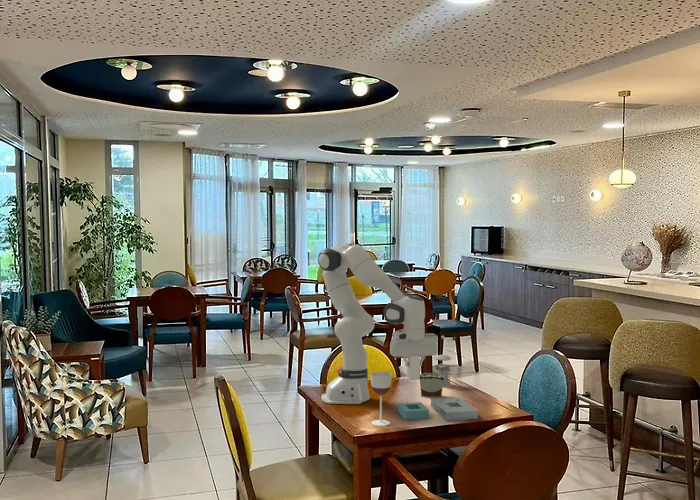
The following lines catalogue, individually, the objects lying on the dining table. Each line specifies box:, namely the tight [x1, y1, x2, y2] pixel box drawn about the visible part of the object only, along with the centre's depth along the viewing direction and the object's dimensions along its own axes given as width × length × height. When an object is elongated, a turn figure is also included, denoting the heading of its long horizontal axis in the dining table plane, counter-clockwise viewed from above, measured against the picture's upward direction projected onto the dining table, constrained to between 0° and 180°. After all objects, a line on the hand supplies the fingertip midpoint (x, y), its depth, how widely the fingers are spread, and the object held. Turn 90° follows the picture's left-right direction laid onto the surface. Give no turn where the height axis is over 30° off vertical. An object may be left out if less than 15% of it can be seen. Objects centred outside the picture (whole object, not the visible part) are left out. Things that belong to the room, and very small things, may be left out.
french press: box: [434, 335, 453, 389], centre depth 311 cm, size 10×12×25 cm
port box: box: [430, 397, 479, 422], centre depth 266 cm, size 14×20×4 cm
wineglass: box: [370, 371, 393, 427], centre depth 252 cm, size 8×9×20 cm
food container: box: [419, 372, 445, 398], centre depth 294 cm, size 12×6×10 cm, turn 84°
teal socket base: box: [397, 402, 430, 420], centre depth 263 cm, size 10×11×4 cm
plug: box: [406, 356, 421, 381], centre depth 262 cm, size 4×5×10 cm
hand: (413, 366), depth 262 cm, fingers closed on plug, 4 cm apart
